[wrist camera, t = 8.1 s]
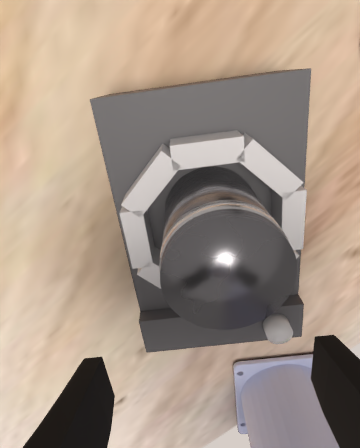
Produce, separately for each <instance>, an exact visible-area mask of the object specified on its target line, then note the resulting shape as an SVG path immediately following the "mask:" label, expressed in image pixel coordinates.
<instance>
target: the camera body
mask: <svg viewBox="0 0 360 448" xmlns="http://www.w3.org/2000/svg"><path fill="white" fill-rule="evenodd" d="M310 79H311V69H296V70H282V71H274V72H266V73H259V74H252V75H245V76H238V77H231V78H224V79H216V80H209V81H202V82H195V83H188V84H181V85H173V86H166V87H159V88H152V89H145V90H138V91H131V92H123V93H116V94H109V95H105V96H101V97H97V98H93V99H90V102H91V106H92V110H93V115H94V119H95V123H96V127H97V131H98V135H99V140H100V144H101V148H102V152H103V156H104V161H105V165H106V169H107V173H108V177H109V182H110V186H111V190H112V194H113V198H114V203H115V207H116V211H117V215H118V219H119V223H120V228H121V232H122V236H123V240H124V244H125V249H126V253H127V257H128V261H129V265H130V270H131V274H132V278H133V282H134V286H135V291H136V295H137V299H138V303H139V307H140V319H139V324H140V328H141V332H142V336H143V340H144V344H145V348H146V352H157V351H166V350H176V349H186V348H195V347H205V346H215V345H224V344H234V343H244V342H253V341H263V340H269V341H270V342H271V343H273V344H283V343H285V342H287V341H289V340H290V339H291V338H292V337H301V336H302V322H303V307H304V304H303V302H302V300H301V298H300V297H299V295H298V290H299V272H300V255H301V249H303V243H304V227H305V210H306V194H307V190H306V189H305V188H304V184H305V167H306V149H307V132H308V114H309V97H310ZM211 166H214V167H222V168H226V169H229V170H232V171H234V172H236V173H237V174H239V175H240V176H241V177H242V178H244V179H245V180H246V182H247V183H248V184H249V186H250V187H251V188H252V190H253V191H254V193H255V194H256V196H257V197H258V198H259V200H260V201H261V203H262V204H263V206H264V207H265V209H266V210H267V211H268V213H269V214H270V216H271V217H273V218H274V220H275V221H276V222H277V223H278V225H279V226H280V227H281V229H282V230H283V232H284V233H285V235H286V237H287V238H288V241H289V243H290V245H291V247H292V248H293V251H294V253H295V256H296V261H297V277H296V281H295V285H294V287H293V289H292V292H291V293H290V295H289V297H288V298H287V300H286V301H285V302H284V303H283V305H282V306H281V307H280V308H279V309H278V310H276V311H275V312H274V313H273V314H271V315H270V316H268V317H267V318H265V319H263V320H262V321H259V322H257V323H255V324H252V325H250V326H246V327H243V328H238V329H231V330H215V329H208V328H204V327H200V326H197V325H194V324H192V323H190V322H188V321H186V320H185V319H183V318H182V317H180V316H179V315H178V314H177V313H175V312H174V311H173V310H172V308H171V307H170V306H169V305H168V303H167V301H166V300H165V298H164V295H163V293H162V289H161V285H160V271H159V263H160V251H161V246H162V242H163V228H164V214H165V204H166V199H167V196H168V194H169V192H170V190H171V188H172V187H173V186H174V184H175V183H176V182H177V181H178V180H179V179H180V178H181V177H182V176H184V175H185V174H187V173H189V172H191V171H193V170H195V169H199V168H203V167H211Z"/></svg>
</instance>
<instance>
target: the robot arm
mask: <svg viewBox="0 0 360 448" xmlns="http://www.w3.org/2000/svg"><path fill="white" fill-rule="evenodd" d="M233 370H234V384H235V398H236V412H237V426H238V432H239V433H240V434H248V436H249V441H250V446H251V448H360V359H359V358H358V357H356V356H355V354H353V353H352V352H351V351H350V350H349V349H348V348H347V347H346V346H345V345H344V344H343V343H342V342H341V341H340V340H339V339H338V338H337V337H336V336H334V335H328V336H317V337H315V341H314V351H313V354H308V355H298V356H288V357H278V358H269V359H259V360H249V361H239V362H236V363H235V364H234V365H233ZM114 397H115V396H114V393H113V390H112V386H111V383H110V380H109V377H108V374H107V371H106V368H105V365H104V362H103V359H102V357H96V358H85V359H84V360H83V361H82V362H81V364H80V365H79V367H78V368H77V370H76V372H75V373H74V375H73V376H72V378H71V379H70V381H69V382H68V384H67V385H66V387H65V388H64V390H63V391H62V393H61V394H60V396H59V397H58V399H57V400H56V402H55V403H54V405H53V406H52V408H51V409H50V411H49V412H48V413H47V415H46V416H45V418H44V419H43V421H42V422H41V423H40V425H39V426H38V428H37V429H36V430H35V432H34V433H33V434H32V436H31V437H30V438H29V440H28V441H27V442H26V444H25V445H24V446H23V448H107V445H108V441H109V436H110V431H111V424H112V416H113V407H114Z"/></svg>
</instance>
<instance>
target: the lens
mask: <svg viewBox="0 0 360 448" xmlns="http://www.w3.org/2000/svg"><path fill="white" fill-rule="evenodd" d="M159 271H160V285H161V289H162V293H163V295H164V298H165V300H166V301H167V303H168V305H169V306H170V307H171V308H172V310H173V311H174V312H175V313H177V314H178V315H179V316H180V317H182V318H183V319H185V320H186V321H188V322H190V323H192V324H194V325H197V326H200V327H204V328H208V329H215V330H231V329H238V328H243V327H246V326H250V325H252V324H255V323H257V322H259V321H262V320H263V319H265V318H267V317H268V316H270V315H271V314H273V313H274V312H275V311H276V310H278V309H279V308H280V307H281V306H282V305H283V303H284V302H285V301H286V300H287V298H288V297H289V295H290V293H291V292H292V289H293V287H294V285H295V281H296V277H297V261H296V256H295V253H294V251H293V248H292V247H291V245H290V243H289V241H288V238H287V237H286V235H285V233H284V232H283V230H282V229H281V227H280V226H279V225H278V223H277V222H276V221H275V220H274V218H273V217H271V216H270V214H269V213H268V211H267V210H266V209H265V207H264V206H263V204H262V203H261V201H260V200H259V198H258V197H257V196H256V194H255V193H254V191H253V190H252V188H251V187H250V186H249V184H248V183H247V182H246V180H245V179H244V178H242V177H241V176H240V175H239V174H237V173H236V172H234V171H232V170H229V169H226V168H222V167H214V166H211V167H203V168H199V169H195V170H193V171H191V172H189V173H187V174H185V175H184V176H182V177H181V178H180V179H179V180H178V181H177V182H176V183H175V184H174V186H173V187H172V188H171V190H170V192H169V194H168V196H167V199H166V204H165V214H164V228H163V242H162V246H161V251H160V263H159Z"/></svg>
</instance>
